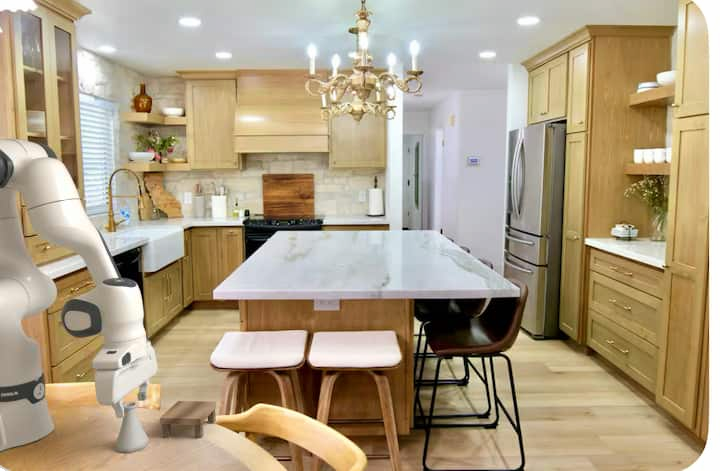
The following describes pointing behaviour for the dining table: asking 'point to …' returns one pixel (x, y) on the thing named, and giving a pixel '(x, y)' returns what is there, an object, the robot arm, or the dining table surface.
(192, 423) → the walnut stand
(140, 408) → the dining table surface
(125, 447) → the flask
